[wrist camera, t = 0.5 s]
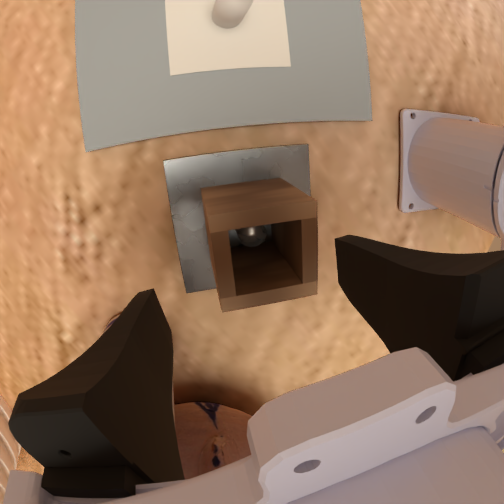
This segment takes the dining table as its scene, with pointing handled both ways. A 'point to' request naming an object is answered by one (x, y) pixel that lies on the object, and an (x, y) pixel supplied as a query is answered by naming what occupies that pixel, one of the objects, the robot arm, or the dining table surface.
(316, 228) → the collar
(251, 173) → the stand
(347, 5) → the board
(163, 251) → the dining table surface
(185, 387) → the dining table surface
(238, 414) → the ceramic pitcher
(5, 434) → the plate stack
